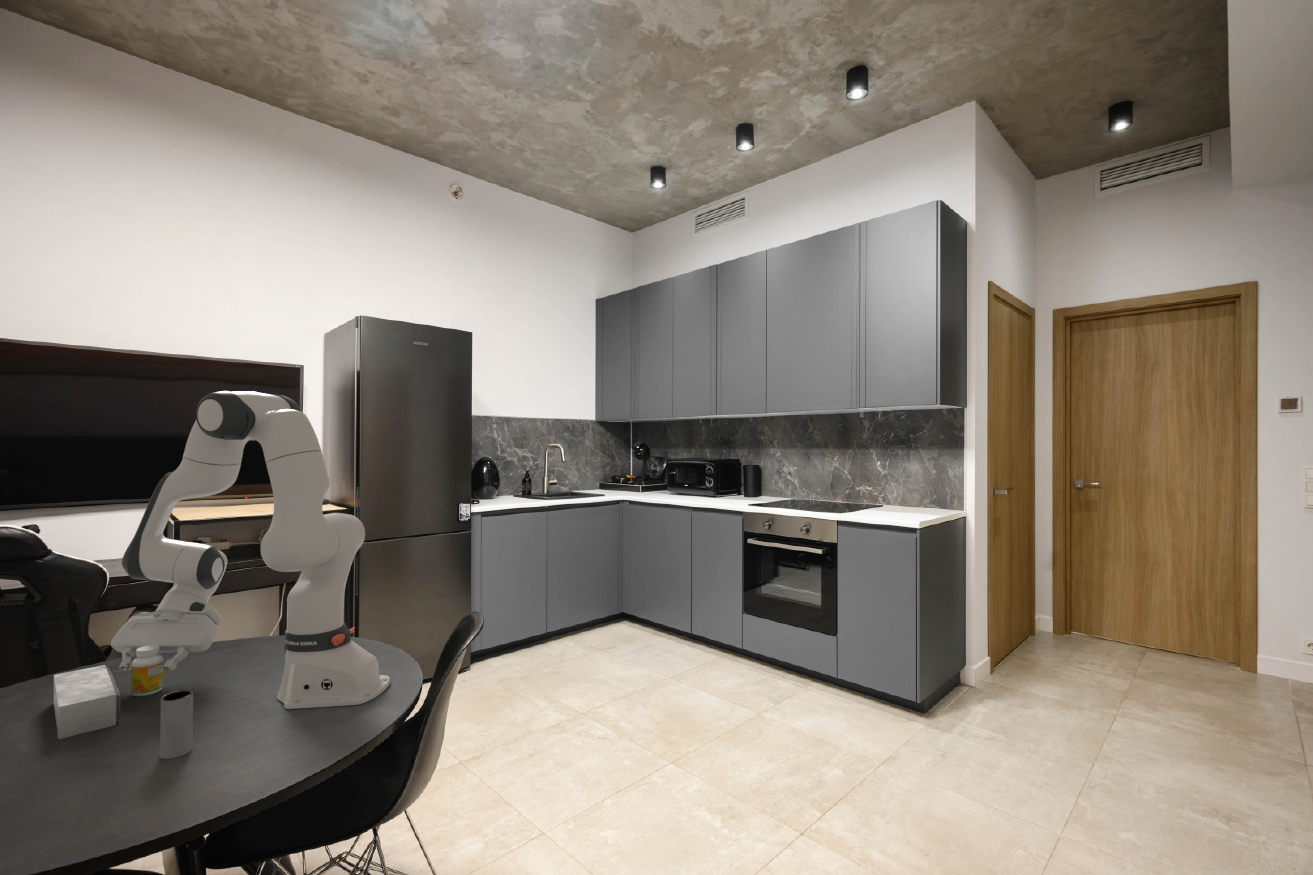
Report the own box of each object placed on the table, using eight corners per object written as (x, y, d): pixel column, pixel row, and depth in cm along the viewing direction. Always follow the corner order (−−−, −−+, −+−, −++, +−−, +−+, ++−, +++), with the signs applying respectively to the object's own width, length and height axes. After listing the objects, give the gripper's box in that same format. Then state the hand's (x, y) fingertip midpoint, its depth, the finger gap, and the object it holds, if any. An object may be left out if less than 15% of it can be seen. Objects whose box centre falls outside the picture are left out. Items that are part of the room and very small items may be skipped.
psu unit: (121, 723, 119) (122, 692, 119) (58, 739, 112) (58, 707, 112) (110, 690, 134) (110, 663, 134) (53, 703, 127) (53, 674, 127)
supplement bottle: (125, 694, 132) (126, 649, 132) (153, 685, 137) (154, 642, 137) (140, 698, 130) (141, 653, 130) (168, 688, 135) (169, 645, 135)
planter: (166, 762, 105) (167, 702, 105) (155, 754, 107) (156, 696, 107) (196, 750, 109) (197, 693, 109) (185, 743, 111) (186, 687, 111)
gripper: (126, 605, 140) (87, 663, 131) (216, 605, 141) (185, 662, 131) (141, 619, 145) (105, 675, 135) (229, 618, 146) (200, 675, 136)
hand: (145, 669), depth 133 cm, fingers open, 8 cm apart
